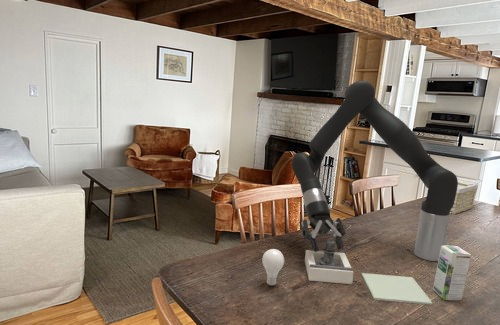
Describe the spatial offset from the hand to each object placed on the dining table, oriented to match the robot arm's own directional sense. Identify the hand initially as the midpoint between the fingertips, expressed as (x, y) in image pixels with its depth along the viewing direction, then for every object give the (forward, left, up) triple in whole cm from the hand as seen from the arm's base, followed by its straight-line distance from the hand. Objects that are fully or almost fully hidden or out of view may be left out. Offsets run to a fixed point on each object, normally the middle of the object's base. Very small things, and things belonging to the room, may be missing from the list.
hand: (328, 250), depth 111 cm
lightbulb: (+18, +11, -8) cm, 22 cm away
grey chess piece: (0, 0, -8) cm, 8 cm away
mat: (-19, +7, -7) cm, 22 cm away
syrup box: (-34, +8, -8) cm, 36 cm away
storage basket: (-81, -86, -8) cm, 119 cm away
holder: (0, 0, -7) cm, 7 cm away
